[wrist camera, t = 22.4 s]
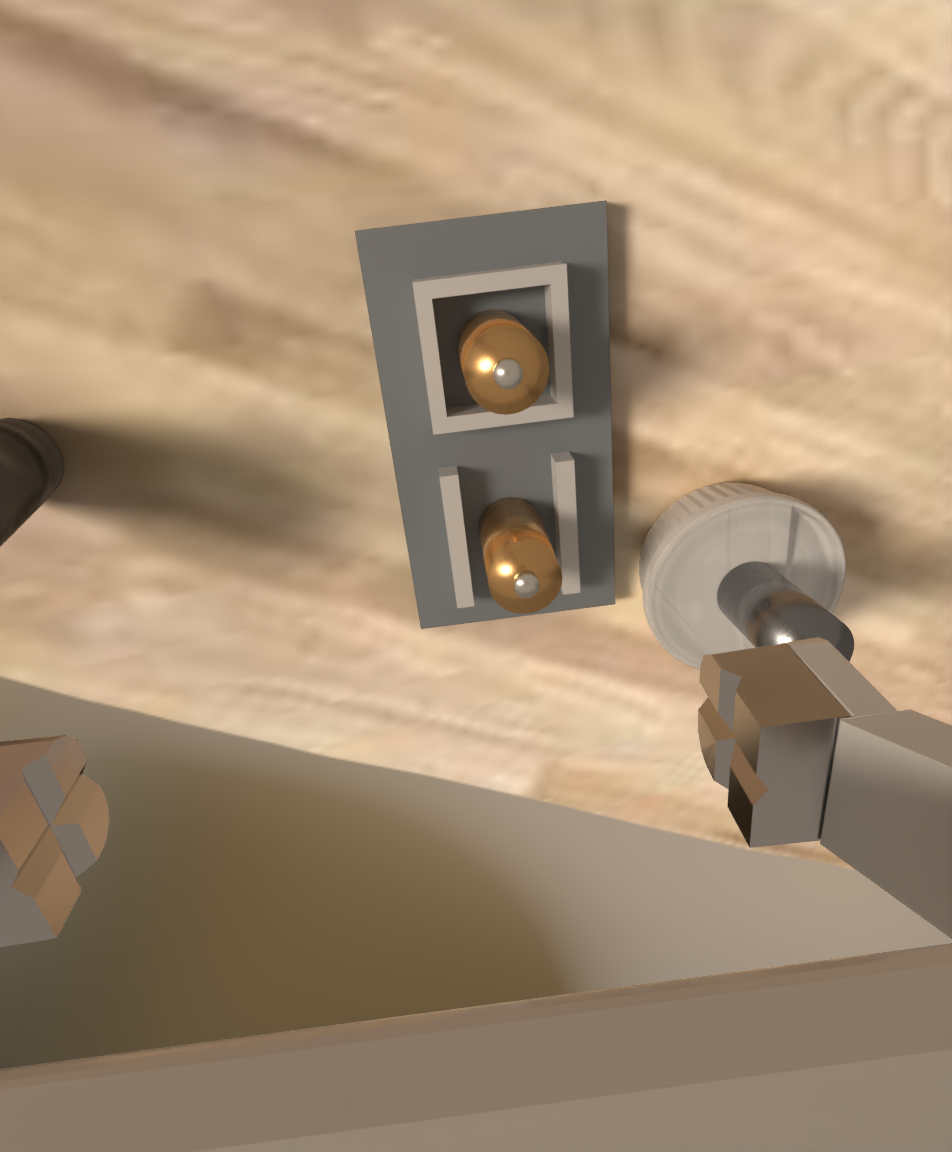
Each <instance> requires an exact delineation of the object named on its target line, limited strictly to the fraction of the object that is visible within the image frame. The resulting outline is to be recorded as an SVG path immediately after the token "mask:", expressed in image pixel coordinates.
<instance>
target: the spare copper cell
mask: <svg viewBox="0 0 952 1152" xmlns="http://www.w3.org/2000/svg"><path fill="white" fill-rule="evenodd" d="M479 534H480V540H481V545H482V551H483V556H484V562H485V567H486V573H487V578H488V584H489V589H490V593H491V595H492V597H493V599H494V600H495V601H496V603H497V604H498V605H500V606H501V607H502V608H504V609H506V610H508V611H510V612H514V613H519V614H527V613H533V612H536V611H539V610H541V609H543V608H545V607H547V606H548V605H549V604H550V603H551V602H553V601H554V599H555V598H556V597H557V595H558V593H559V591H560V589H561V586H562V571H561V568H560V566H559V563H558V561H557V558H556V556H555V553H554V551H553V548H552V546H551V543H550V541H549V538H548V536H547V533H546V531H545V528H544V526H543V523H542V521H541V518H540V516H539V513H538V511H537V510H536V508H535V507H534V506H533V505H532V504H531V503H529V502H528V501H526V500H524V499H521V498H517V497H506V498H502V499H499V500H496V501H495V502H493V503H491V504H490V505H489V506H488V507H487V508H486V509H485V510H484V512H483V514H482V515H481V518H480V521H479Z"/></svg>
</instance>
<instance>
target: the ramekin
mask: <svg viewBox="0 0 952 1152" xmlns="http://www.w3.org/2000/svg"><path fill="white" fill-rule="evenodd" d="M747 562H762V563H765V564H768V565H770V566H771V567H772V568H774V569H775V570H776V571H777V572H779V573H780V574H781V575H783V576H784V577H785V578H786V579H788V580H789V581H790V582H791V583H793V584H794V585H795V586H797V587H798V588H799V589H800V590H802V591H803V592H804V593H805V594H807V595H808V596H809V597H811V598H812V599H813V600H814V601H816V602H817V603H818V604H819V605H821V606H822V607H823V608H825V609H826V610H827V611H828V612H830V613H831V614H832V612H833V611H834V609H835V607H836V605H837V603H838V600H839V598H840V595H841V593H842V589H843V585H844V582H845V575H846V556H845V550H844V547H843V544H842V541H841V538H840V536H839V534H838V533H837V531H836V529H835V528H834V526H833V525H832V524H831V522H830V521H829V520H828V519H827V518H826V517H825V516H824V515H823V514H822V513H820V512H819V511H818V510H817V509H815V508H814V507H812V506H811V505H809V504H808V503H806V502H804V501H802V500H800V499H797V498H795V497H792V496H789V495H785V494H780V493H775V492H772V491H769V490H767V489H764V488H761V487H758V486H754V485H751V484H743V483H729V482H727V483H722V484H714V485H710V486H704V487H702V488H700V489H696V490H693V491H692V492H690V493H689V494H686V495H684V496H683V497H681V498H680V499H679V500H677V501H675V502H674V503H673V504H672V505H671V506H669V507H668V508H667V509H665V511H664V512H663V513H662V514H661V515H660V516H659V517H658V518H657V520H656V521H655V522H654V523H653V525H652V527H651V529H650V530H649V532H648V533H647V536H646V539H645V541H644V543H643V547H642V550H641V553H640V561H639V576H640V583H641V587H642V591H643V606H644V611H645V615H646V618H647V621H648V623H649V626H650V628H651V630H652V632H653V634H654V635H655V637H656V639H657V640H658V641H659V643H660V644H661V645H662V646H663V648H664V649H665V650H666V651H667V652H669V653H670V654H671V655H672V656H673V657H675V658H676V659H678V660H679V661H681V662H682V663H684V664H686V665H688V666H691V667H694V668H697V669H700V666H701V662H702V659H703V656H704V655H707V654H714V653H721V652H729V651H736V650H743V649H750V648H755V647H754V646H753V645H752V644H751V643H750V642H749V640H748V639H747V638H746V637H745V636H744V635H743V634H742V633H741V632H740V631H739V630H738V629H737V628H736V627H735V626H734V625H733V624H732V622H731V621H730V620H729V619H728V618H727V617H726V616H725V615H724V614H723V613H722V612H721V610H720V608H719V606H718V603H717V591H718V588H719V585H720V583H721V581H722V579H723V578H724V577H725V576H726V574H727V573H728V572H729V571H731V570H732V569H733V568H735V567H737V566H739V565H741V564H743V563H747Z"/></svg>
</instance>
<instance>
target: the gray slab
mask: <svg viewBox="0 0 952 1152" xmlns="http://www.w3.org/2000/svg"><path fill="white" fill-rule="evenodd" d="M355 235H356V241H357V247H358V253H359V259H360V265H361V271H362V277H363V283H364V289H365V295H366V301H367V307H368V313H369V319H370V325H371V331H372V337H373V343H374V349H375V355H376V361H377V367H378V373H379V379H380V385H381V391H382V397H383V403H384V409H385V415H386V421H387V427H388V433H389V439H390V445H391V451H392V457H393V463H394V469H395V475H396V481H397V487H398V493H399V499H400V505H401V511H402V517H403V523H404V529H405V535H406V541H407V547H408V553H409V559H410V565H411V571H412V577H413V583H414V589H415V595H416V601H417V607H418V613H419V619H420V625H421V629H425V628H433V627H441V626H448V625H456V624H464V623H472V622H480V621H487V620H495V619H503V618H511V617H519V616H526V615H534V614H542V613H550V612H558V611H565V610H573V609H581V608H589V607H597V606H605V605H612V604H615V571H614V524H613V477H612V430H611V384H610V337H609V290H608V243H607V201H599V202H590V203H582V204H574V205H566V206H557V207H549V208H541V209H532V210H524V211H516V212H508V213H499V214H491V215H483V216H474V217H466V218H458V219H450V220H441V221H433V222H425V223H416V224H408V225H400V226H392V227H383V228H375V229H367V230H358V231H355ZM489 309H497V310H502V311H505V312H507V313H509V314H511V315H512V316H514V317H515V318H516V319H517V320H518V321H519V322H520V323H521V324H522V325H523V326H524V327H525V328H526V329H527V330H528V331H529V332H530V333H531V334H532V335H533V336H534V337H535V338H536V339H537V340H538V341H539V342H540V343H541V345H542V346H543V348H544V350H545V352H546V354H547V357H548V362H549V378H548V382H547V385H546V388H545V390H544V392H543V393H542V395H541V396H540V398H539V399H538V400H537V401H536V402H535V403H534V404H533V405H532V406H530V407H529V408H527V409H525V410H523V411H521V412H518V413H515V414H508V415H504V414H496V413H493V412H490V411H488V410H486V409H484V408H483V407H481V406H480V405H479V404H478V403H477V402H476V401H475V400H474V399H473V398H472V396H471V395H470V393H469V391H468V388H467V386H466V382H465V379H464V375H463V371H462V368H461V364H460V360H459V357H458V352H457V341H458V337H459V333H460V331H461V329H462V327H463V325H464V324H465V323H466V321H467V320H468V319H469V318H470V317H472V316H473V315H475V314H476V313H478V312H481V311H484V310H489ZM506 497H517V498H521V499H524V500H526V501H528V502H529V503H531V504H532V505H533V506H534V507H535V508H536V510H537V511H538V513H539V516H540V518H541V521H542V523H543V526H544V528H545V531H546V533H547V536H548V538H549V541H550V543H551V546H552V548H553V551H554V553H555V556H556V558H557V561H558V563H559V566H560V568H561V571H562V586H561V589H560V591H559V593H558V595H557V597H556V598H555V599H554V601H553V602H551V603H550V604H549V605H548V606H547V607H545V608H543V609H541V610H539V611H536V612H533V613H527V614H519V613H514V612H510V611H508V610H506V609H504V608H502V607H501V606H500V605H498V604H497V603H496V601H495V600H494V599H493V597H492V595H491V593H490V589H489V584H488V578H487V573H486V567H485V562H484V556H483V551H482V545H481V540H480V534H479V521H480V518H481V515H482V514H483V512H484V510H485V509H486V508H487V507H488V506H489V505H490V504H491V503H493V502H495V501H496V500H499V499H502V498H506Z"/></svg>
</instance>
